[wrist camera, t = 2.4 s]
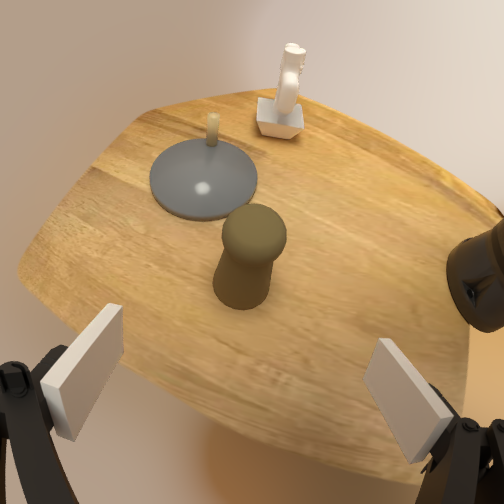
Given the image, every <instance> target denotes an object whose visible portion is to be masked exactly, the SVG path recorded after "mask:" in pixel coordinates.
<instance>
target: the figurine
mask: <svg viewBox="0 0 504 504" xmlns="http://www.w3.org/2000/svg"><path fill="white" fill-rule="evenodd" d="M305 56H306V50H305V49H303V48H302V49H300V46H299V45H297V44H294V43H288V44H287V45H286V46H285V49H284V53H283V57H282V61H281V67H280V68H281V74H280V78H279V83H278V87H277V92H276V96H275V100H273V99H267V98H261V97H258V106H257V119H256V121H257V123H258V126H259V128H260V131H261V133H262V135H264V136H271V137H277V138H283V139H291V138H292V137H294V136H295V135H296V134H298V133H299V132H301V131H302V130H304V121H303V114H302V107H301V105H300V104H295V103H296V99H297V96H298V92H299V82H298V79H299V75H300V74H301V72H302V69H303V65H304V63H303V62H304V60H305Z"/></svg>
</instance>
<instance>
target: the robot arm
mask: <svg viewBox="0 0 504 504" xmlns="http://www.w3.org/2000/svg"><path fill="white" fill-rule="evenodd" d="M447 277H448V283H449V287H450V291H451V294H452V296H453V299H454V301H455V303H456V305H457V307H458V309H459V310H460V312H461V314H462V315H463V316H464V318H465V319H466V320H467V321H468V322H469V323H470V324H471V325H472V326H473V327H474V328H476V329H478V330H479V331H482V332H485V333H490V332H494V331H496V330H498V329H500V328H502V327H503V326H504V218H503V219H502V220H501V221H500V222H499V223H498V224H497V225H496V226H495V227H494V228H493V229H491V230H489V231H487V232H485V233H483V234H480V235H478V236H476V237H474V238H468V239H466V240H464V241H462V242H461V243H460V244H459V245H457V246H456V247H455V248H454V249H453V250H452V252H451V253H450V255H449V258H448V262H447ZM123 353H124V348H123V306H121V305H116V304H111V303H108V304H107V305H106V306H105V307H104V308H103V310H102V311H101V312H100V313H99V314H98V315H97V316H96V317H95V318H94V319H93V320H92V322H91V323H90V324H89V325H88V326H87V327H86V328H85V329H84V330H83V332H82V333H81V334H80V335H79V336H78V337H77V338H76V340H75V341H74V342H73V343H72V344H71V345H70V346H69V347H67V346H64V345H59V346H57V347H55V348H53V349H51V350H50V351H49V353H48V354H47V355H46V356H45V357H44V358H43V359H42V360H41V362H40V363H38V364H37V366H36V367H35V368H34V369H33V370H32V371H31V372H30V371H29V369H28V367H27V366H26V365H25V364H24V363H21V362H18V361H15V362H14V361H10V362H7V363H4V364H2V365H1V366H0V504H6V492H5V463H6V444H7V439H10V443H11V448H12V452H13V457H14V460H15V465H16V468H17V472H18V475H19V479H20V482H21V485H22V489H23V491H24V495H25V498H26V501H27V503H28V504H79V502H78V501H77V498H76V496H75V494H74V492H73V490H72V488H71V486H70V483H69V481H68V479H67V477H66V474H65V472H64V470H63V467H62V465H61V462H60V460H59V457H58V454H57V452H56V449H55V446H54V444H53V441H52V438H51V435H50V431H51V429H52V427H53V426H54V428H55V430H56V433H57V435H58V436H60V437H63V438H66V439H68V440H71V441H73V442H74V441H75V440H76V438H77V436H78V434H79V432H80V430H81V428H82V426H83V424H84V422H85V421H86V419H87V417H88V415H89V413H90V411H91V409H92V408H93V406H94V404H95V402H96V400H97V399H98V397H99V395H100V393H101V391H102V389H103V388H104V386H105V384H106V382H107V381H108V379H109V377H110V375H111V374H112V372H113V370H114V368H115V367H116V365H117V363H118V361H119V360H120V358H121V356H122V355H123ZM363 381H364V383H365V384H366V386H367V388H368V390H369V391H370V393H371V395H372V397H373V399H374V400H375V402H376V404H377V406H378V408H379V409H380V411H381V413H382V415H383V417H384V418H385V420H386V422H387V424H388V426H389V428H390V429H391V431H392V433H393V435H394V437H395V439H396V440H397V442H398V444H399V446H400V448H401V450H402V452H403V453H404V455H405V457H406V459H407V461H408V463H409V464H412V463H417V462H421V461H423V460H424V459H425V457H426V456H427V455H428V453H429V452H430V453H431V455H432V456H433V457H432V458H431V460H430V461H429V462H428V463H427V465H426V466H425V467H424V468H423V470H422V471H421V474H422V473H423V472H424V471H425V470H426V473H425V476H424V479H423V482H422V485H421V488H420V491H419V494H418V497H417V500H416V503H415V504H504V420H501V419H495V420H493V422H492V424H491V425H490V426H489V428H482V427H480V426H479V424H478V423H477V422H476V421H474V420H472V419H470V418H460V416H459V415H458V414H457V413H456V411H455V410H454V409H453V408H452V406H451V405H450V404H449V403H448V402H447V400H446V399H445V398H444V397H442V394H441V393H440V392H439V390H438V389H437V388H435V387H434V386H432V385H431V384H430V383H427V382H426V380H425V379H424V378H423V377H422V376H421V374H420V373H419V372H418V371H417V370H416V368H415V367H414V366H413V365H412V364H411V362H410V361H409V360H408V359H407V358H406V356H405V355H404V354H403V353H402V352H401V350H400V349H399V348H398V347H397V346H396V345H395V343H394V342H393V341H392V340H391V339H390V338H378V341H377V344H376V347H375V349H374V352H373V354H372V357H371V360H370V362H369V365H368V367H367V370H366V372H365V375H364V377H363ZM492 459H493V465H492V466H491V467H489V463H490V461H491V460H492Z"/></svg>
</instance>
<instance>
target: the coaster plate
mask: <svg viewBox="0 0 504 504" xmlns="http://www.w3.org/2000/svg"><path fill="white" fill-rule="evenodd" d="M219 119H220V114H219V113H217V112H210V113H209V114H208V119H207V135H206V139H192V140H187V141H183V142H180V143H177V144H175V145H173V146H171V147H169V148H168V149H166V150H165V151H163V152H162V153H161V154H160V155H159V156H158V157H157V158H156V160H155V161H154V163H153V165H152V167H151V171H150V185H151V190H152V194H153V196H154V198H155V199H156V201H157V202H158V204H159V205H160V206H161V207H162V208H164V209H165V210H166V211H168V212H170V213H171V214H173V215H175V216H178V217H180V218H184V219H187V220H194V221H212V220H218V219H222V218H226V217H228V215H229V214H230V213H231V212H232V211H234V210H235V209H236V208H238V207H241V206H243V205H246V204H248V203H249V201H250V200H251V198H252V197H253V195H254V192H255V188H256V184H257V171H256V167H255V165H254V163H253V161H252V160H251V159H250V157H249V156H248V155H247V154H246V153H245V152H244V151H242V150H241V149H239V148H238V147H236V146H234V145H232V144H230V143H227V142H224V141H220V140H218V130H219Z"/></svg>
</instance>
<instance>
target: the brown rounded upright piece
mask: <svg viewBox="0 0 504 504" xmlns="http://www.w3.org/2000/svg"><path fill="white" fill-rule="evenodd" d="M222 241H223V245H224V251H223V254H222V256H221V259H220V261H219V264H218V266H217V269H216V271H215V274H214V278H213V288H214V292H215V294H216V295H217V297H218V299H219V300H220V301H221V302H223V303H224V304H225V305H226V306H228V307H231V308H233V309H238V310H247V309H252V308H254V307H256V306H258V305H260V304H261V303H262V302H263V300H264V299H265V298H266V296H267V294H268V291H269V286H270V280H271V273H272V267H273V261H274V260H276V259H277V258H278V256H279V255H280V254H281V253H282V251H283V249H284V247H285V244H286V227H285V224H284V222H283V220H282V219H281V217H280V216H279V215H278V214H277V212H275V211H274V210H272V209H271V208H269V207H267V206H264V205H261V204H246V205H243V206H241V207H238V208H236V209H235V210H234V211H232V212H231V213H230V214H229V215H228V217H227V219H226V221H225V222H224V224H223V229H222Z"/></svg>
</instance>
